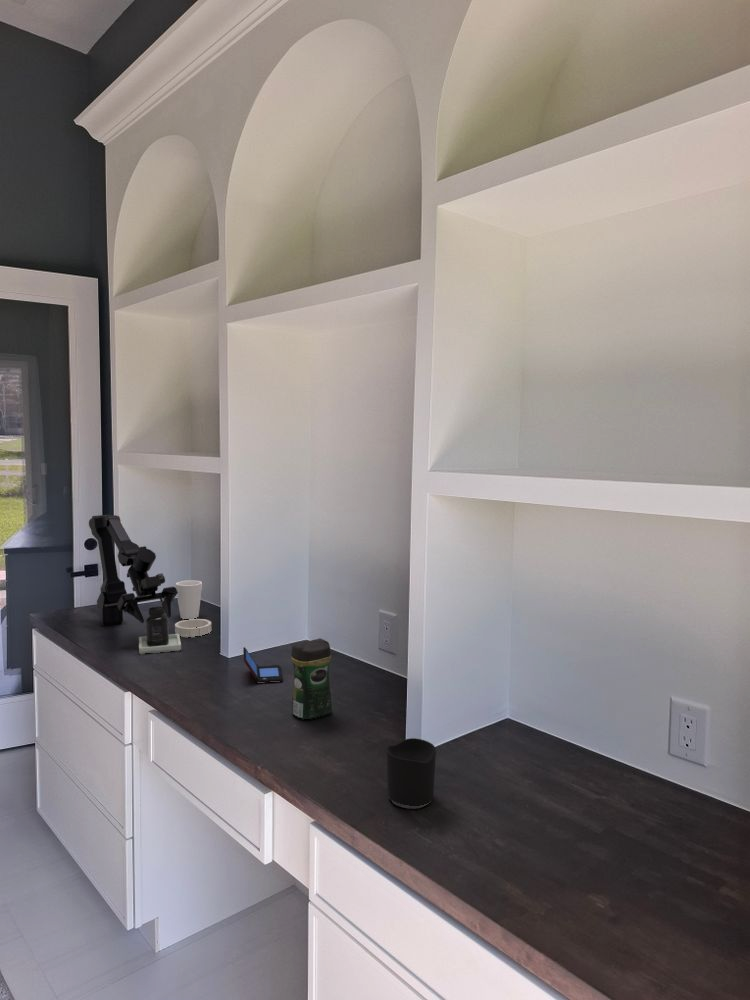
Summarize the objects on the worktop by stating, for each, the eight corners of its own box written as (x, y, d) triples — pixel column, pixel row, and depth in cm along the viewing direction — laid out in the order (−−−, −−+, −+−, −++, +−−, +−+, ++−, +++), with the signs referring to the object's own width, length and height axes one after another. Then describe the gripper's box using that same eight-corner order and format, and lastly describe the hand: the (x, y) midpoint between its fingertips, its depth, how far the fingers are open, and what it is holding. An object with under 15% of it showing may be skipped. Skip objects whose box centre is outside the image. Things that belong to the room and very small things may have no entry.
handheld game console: (283, 683, 197) (283, 657, 196) (243, 685, 195) (243, 659, 194) (280, 668, 209) (280, 643, 208) (243, 670, 207) (243, 645, 206)
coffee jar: (319, 704, 182) (319, 633, 180) (336, 714, 175) (336, 641, 173) (286, 713, 176) (286, 640, 174) (302, 723, 170) (302, 648, 168)
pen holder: (436, 812, 131) (436, 761, 130) (385, 811, 132) (385, 759, 130) (434, 787, 140) (434, 738, 139) (386, 785, 141) (387, 737, 140)
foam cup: (195, 612, 270) (195, 579, 268) (207, 617, 262) (206, 583, 261) (172, 616, 264) (171, 582, 262) (182, 622, 256) (182, 587, 255)
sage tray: (139, 654, 220) (139, 648, 220) (139, 642, 232) (139, 636, 232) (181, 650, 224) (181, 644, 224) (179, 639, 236) (178, 633, 235)
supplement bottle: (173, 642, 229) (172, 606, 228) (160, 649, 223) (159, 611, 222) (155, 640, 232) (154, 604, 230) (142, 646, 225) (141, 609, 224)
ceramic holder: (176, 638, 237) (175, 629, 236) (174, 628, 248) (174, 620, 248) (212, 635, 240) (212, 627, 240) (209, 626, 252) (209, 617, 251)
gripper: (120, 570, 224) (136, 611, 217) (174, 562, 236) (191, 601, 230) (110, 589, 230) (125, 630, 224) (164, 581, 243) (180, 619, 236)
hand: (156, 619), depth 228 cm, fingers open, 9 cm apart
